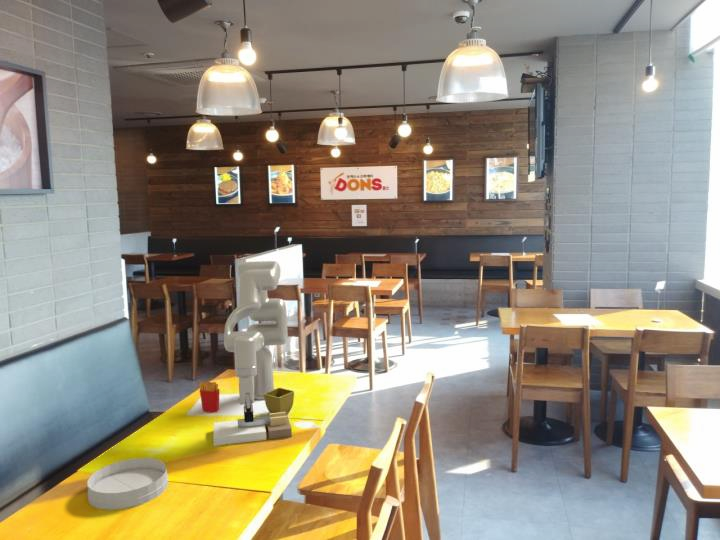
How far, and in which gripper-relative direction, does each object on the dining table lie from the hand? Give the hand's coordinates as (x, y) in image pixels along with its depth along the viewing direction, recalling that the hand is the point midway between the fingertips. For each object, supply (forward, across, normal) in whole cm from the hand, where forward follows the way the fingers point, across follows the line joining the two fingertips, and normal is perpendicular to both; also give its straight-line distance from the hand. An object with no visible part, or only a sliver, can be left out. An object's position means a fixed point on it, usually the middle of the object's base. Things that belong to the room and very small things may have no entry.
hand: (248, 419), depth 206 cm
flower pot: (+6, -16, +12) cm, 21 cm away
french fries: (+6, -29, -15) cm, 33 cm away
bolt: (+2, 0, +2) cm, 3 cm away
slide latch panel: (+5, 0, 0) cm, 5 cm away
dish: (+6, +31, -36) cm, 48 cm away
